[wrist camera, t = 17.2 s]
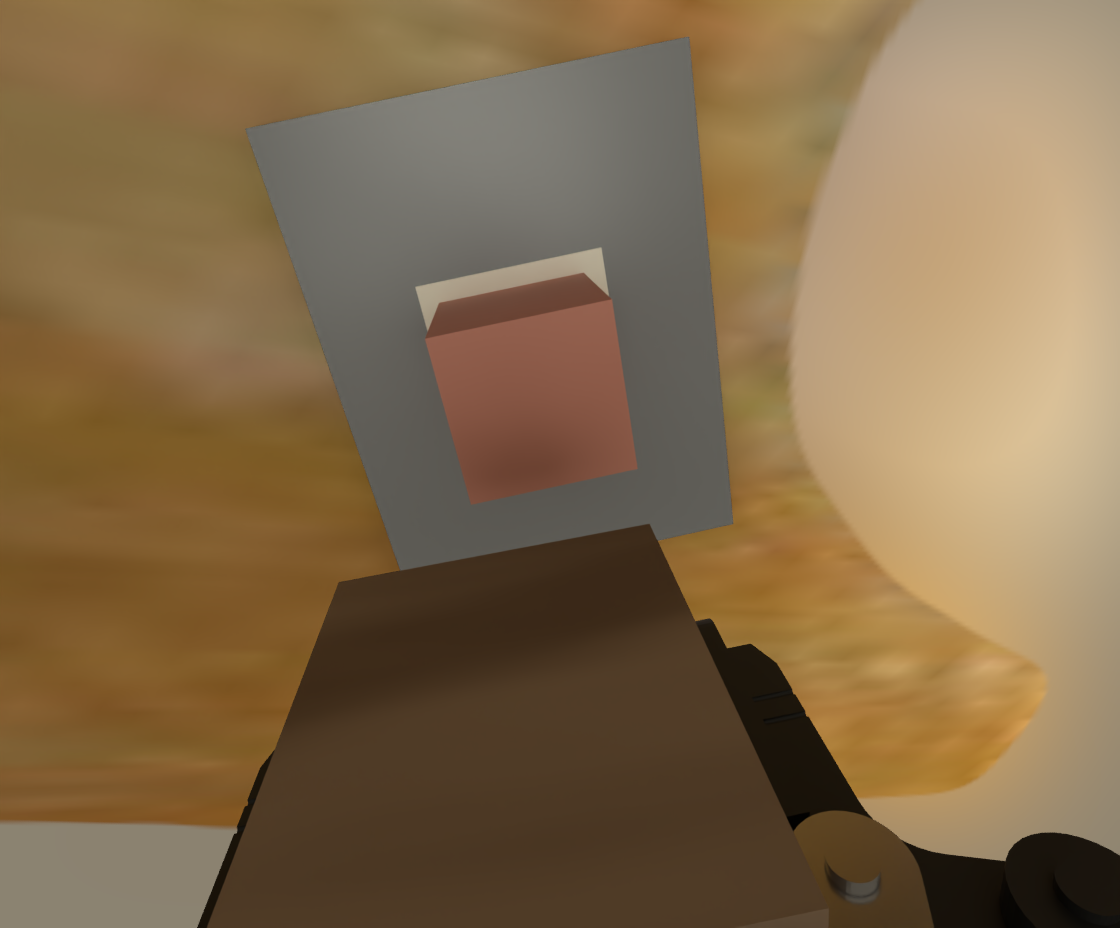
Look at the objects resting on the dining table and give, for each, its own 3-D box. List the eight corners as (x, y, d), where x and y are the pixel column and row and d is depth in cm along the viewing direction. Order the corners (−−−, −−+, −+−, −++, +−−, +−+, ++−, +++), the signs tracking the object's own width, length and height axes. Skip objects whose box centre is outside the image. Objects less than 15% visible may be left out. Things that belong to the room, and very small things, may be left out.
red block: (439, 302, 24) (424, 338, 19) (583, 272, 24) (611, 299, 19) (474, 437, 26) (471, 504, 21) (606, 409, 26) (637, 468, 21)
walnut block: (338, 582, 10) (162, 1045, 5) (649, 523, 10) (829, 908, 5) (416, 800, 12) (356, 1300, 7) (676, 749, 12) (822, 1200, 7)
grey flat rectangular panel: (255, 130, 22) (244, 128, 21) (680, 42, 22) (689, 36, 21) (411, 582, 30) (408, 596, 29) (725, 513, 30) (733, 524, 29)
